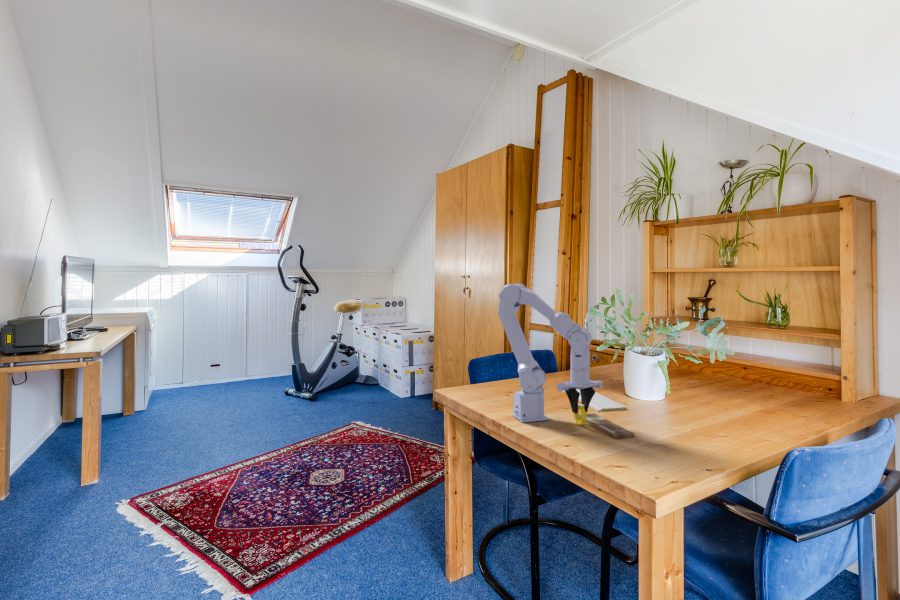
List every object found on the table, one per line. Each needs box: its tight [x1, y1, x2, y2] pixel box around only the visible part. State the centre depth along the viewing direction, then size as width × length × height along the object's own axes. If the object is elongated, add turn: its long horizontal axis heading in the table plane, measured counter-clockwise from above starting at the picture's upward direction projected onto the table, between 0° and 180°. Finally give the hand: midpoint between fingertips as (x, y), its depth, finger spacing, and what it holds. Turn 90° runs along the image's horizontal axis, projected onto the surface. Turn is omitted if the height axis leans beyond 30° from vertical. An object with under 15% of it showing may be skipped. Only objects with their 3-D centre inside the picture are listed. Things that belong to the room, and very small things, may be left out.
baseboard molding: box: [562, 389, 627, 412], centre depth 169 cm, size 31×3×12 cm
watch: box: [573, 403, 587, 426], centre depth 139 cm, size 6×3×6 cm, turn 6°
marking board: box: [579, 413, 635, 440], centre depth 137 cm, size 6×20×1 cm, turn 15°
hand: (579, 412), depth 139 cm, fingers closed on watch, 3 cm apart
